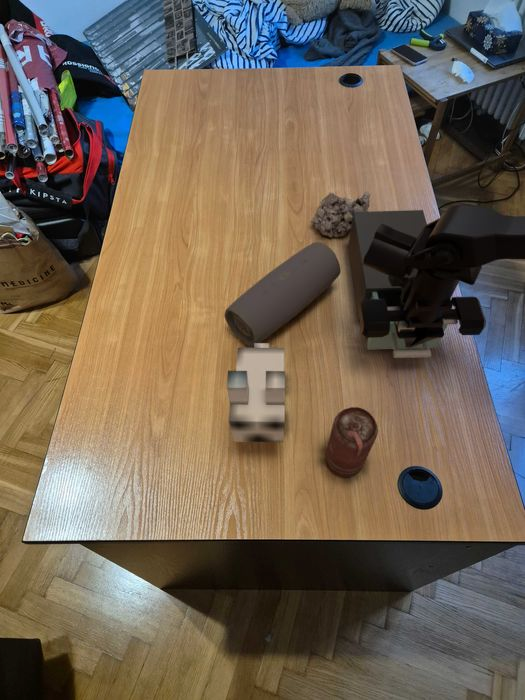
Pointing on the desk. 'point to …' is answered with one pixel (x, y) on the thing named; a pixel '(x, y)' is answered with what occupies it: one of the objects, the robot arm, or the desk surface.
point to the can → (350, 441)
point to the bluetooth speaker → (282, 293)
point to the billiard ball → (394, 300)
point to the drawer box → (362, 239)
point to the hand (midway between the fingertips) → (407, 345)
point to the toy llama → (257, 395)
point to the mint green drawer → (394, 342)
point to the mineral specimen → (338, 214)
